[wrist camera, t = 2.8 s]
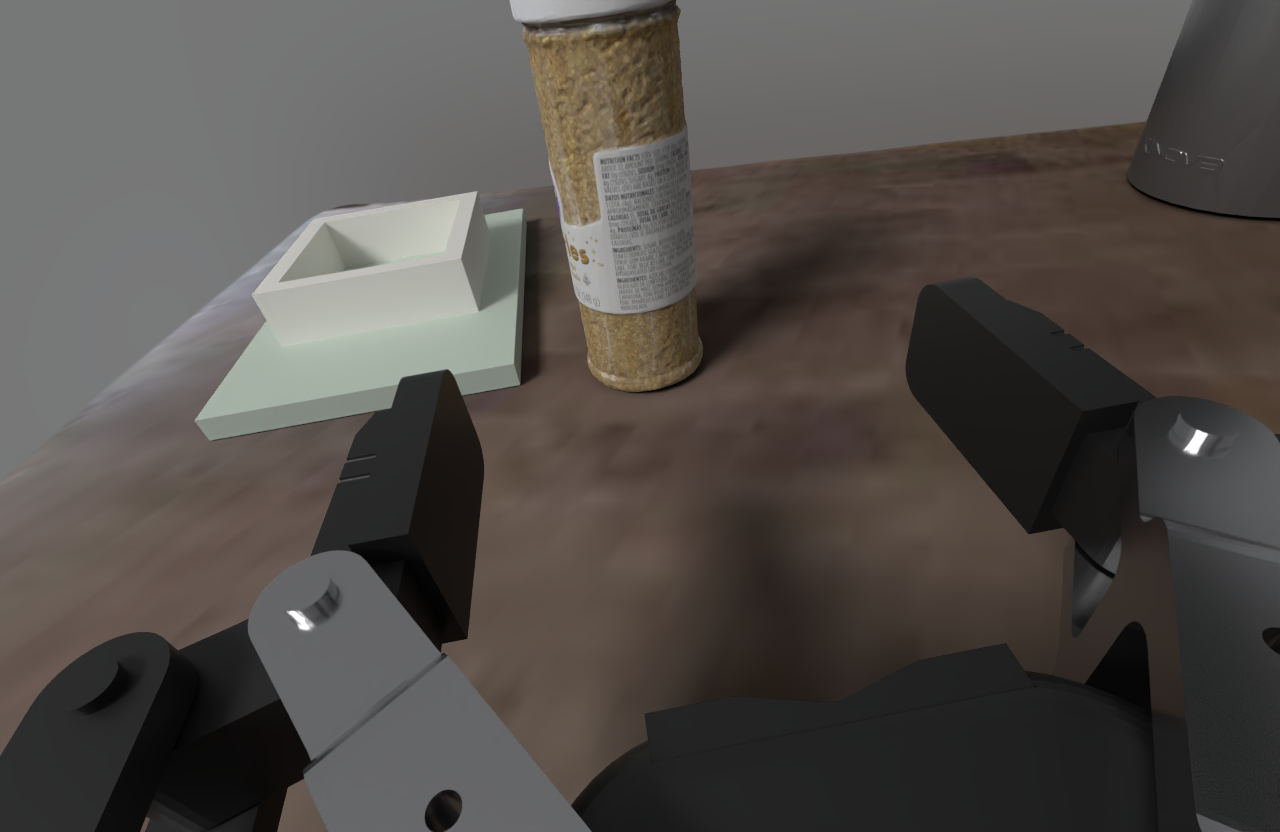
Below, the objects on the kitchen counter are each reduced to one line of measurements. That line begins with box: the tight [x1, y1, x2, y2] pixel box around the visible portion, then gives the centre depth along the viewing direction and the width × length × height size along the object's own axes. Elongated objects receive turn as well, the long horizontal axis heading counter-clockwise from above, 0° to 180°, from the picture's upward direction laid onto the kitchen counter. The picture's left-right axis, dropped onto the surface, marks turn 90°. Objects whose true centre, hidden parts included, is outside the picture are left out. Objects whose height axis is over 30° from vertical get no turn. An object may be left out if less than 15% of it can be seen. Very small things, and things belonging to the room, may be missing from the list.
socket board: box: [195, 191, 527, 441], centre depth 29 cm, size 12×17×4 cm
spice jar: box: [510, 0, 703, 392], centre depth 19 cm, size 5×5×14 cm
